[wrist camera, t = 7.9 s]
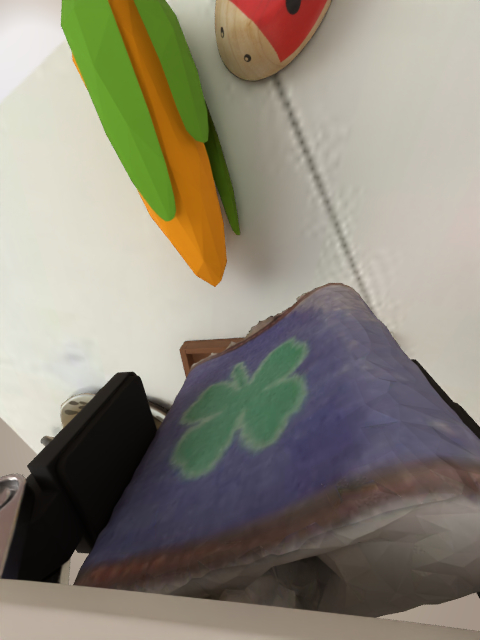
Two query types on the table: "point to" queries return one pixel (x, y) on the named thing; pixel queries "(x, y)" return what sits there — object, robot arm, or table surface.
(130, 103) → the corn
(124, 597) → the robot arm
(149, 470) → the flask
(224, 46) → the ladybug figurine
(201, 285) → the table surface
